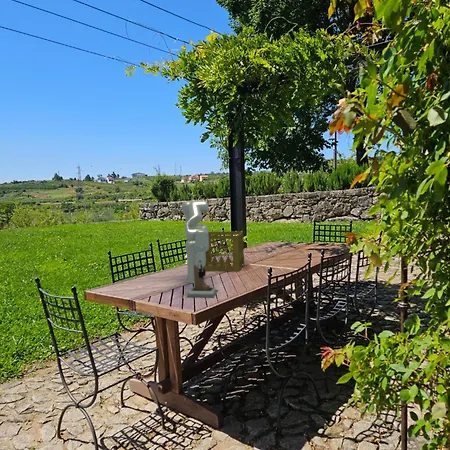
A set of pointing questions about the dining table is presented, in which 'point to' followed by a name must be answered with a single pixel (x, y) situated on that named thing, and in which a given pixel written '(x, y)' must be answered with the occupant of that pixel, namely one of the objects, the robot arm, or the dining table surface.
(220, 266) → the milk crate
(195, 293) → the end cap
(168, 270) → the dining table surface
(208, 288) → the wooden block
